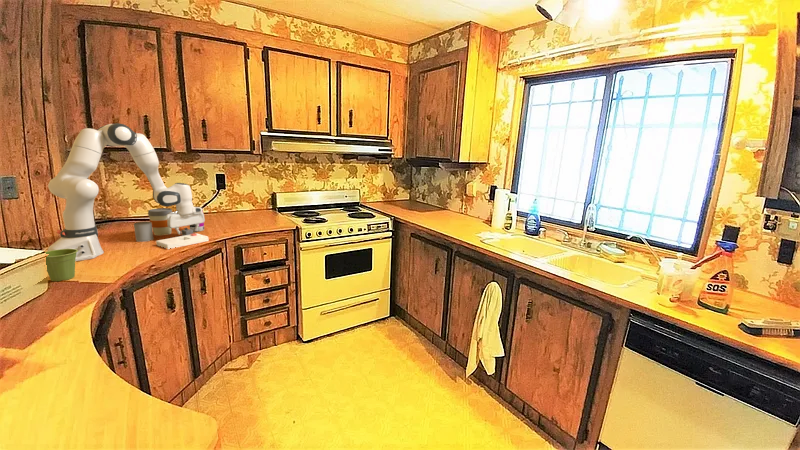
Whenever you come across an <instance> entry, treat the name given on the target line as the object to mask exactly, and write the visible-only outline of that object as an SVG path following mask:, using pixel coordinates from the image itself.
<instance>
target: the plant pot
mask: <svg viewBox="0 0 800 450" xmlns="http://www.w3.org/2000/svg"><path fill="white" fill-rule="evenodd" d="M44 252H45V253H46V254H49V255H48V256H47V257H46V265H47V270H46V272H47V275H48V277H49V279H50V281H51V282H61V281H68V280H70V279H73V278H74V277H75V275H76V261H75V259H76V253H77V252H78V250H77V249H59V250H52V251H48V250H47V251H44Z"/></svg>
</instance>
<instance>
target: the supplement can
mask: <svg viewBox="0 0 800 450" xmlns="http://www.w3.org/2000/svg"><path fill="white" fill-rule="evenodd" d="M198 207H199V208H202V207H201V206H198ZM202 212H203V213H204V211H203V209H202ZM195 226H196V225H195V224H193V225H189V229H191V230H193V233H196V232H203V231H204V230H205V222H204V223H199V227H198V231H194V228H195Z"/></svg>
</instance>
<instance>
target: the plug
mask: <svg viewBox="0 0 800 450" xmlns="http://www.w3.org/2000/svg"><path fill="white" fill-rule="evenodd" d="M181 233H182V234H181V236H185V235H190V234H193V233H194V232H193V230H191V229H190V228H188V227H184V229H181Z"/></svg>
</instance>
